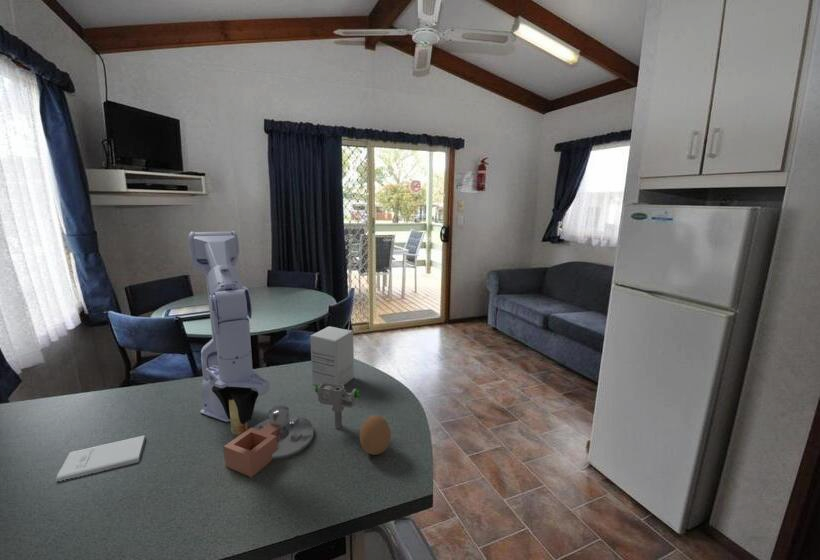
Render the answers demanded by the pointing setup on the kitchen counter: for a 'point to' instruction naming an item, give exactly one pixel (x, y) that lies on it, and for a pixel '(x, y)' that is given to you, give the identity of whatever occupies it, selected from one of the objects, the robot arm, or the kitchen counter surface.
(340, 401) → the mechanical component
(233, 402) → the gold capsule
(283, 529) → the kitchen counter surface
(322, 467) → the kitchen counter surface
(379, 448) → the egg
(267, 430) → the bracket
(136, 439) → the external hard drive
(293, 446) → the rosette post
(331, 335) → the supplement box
